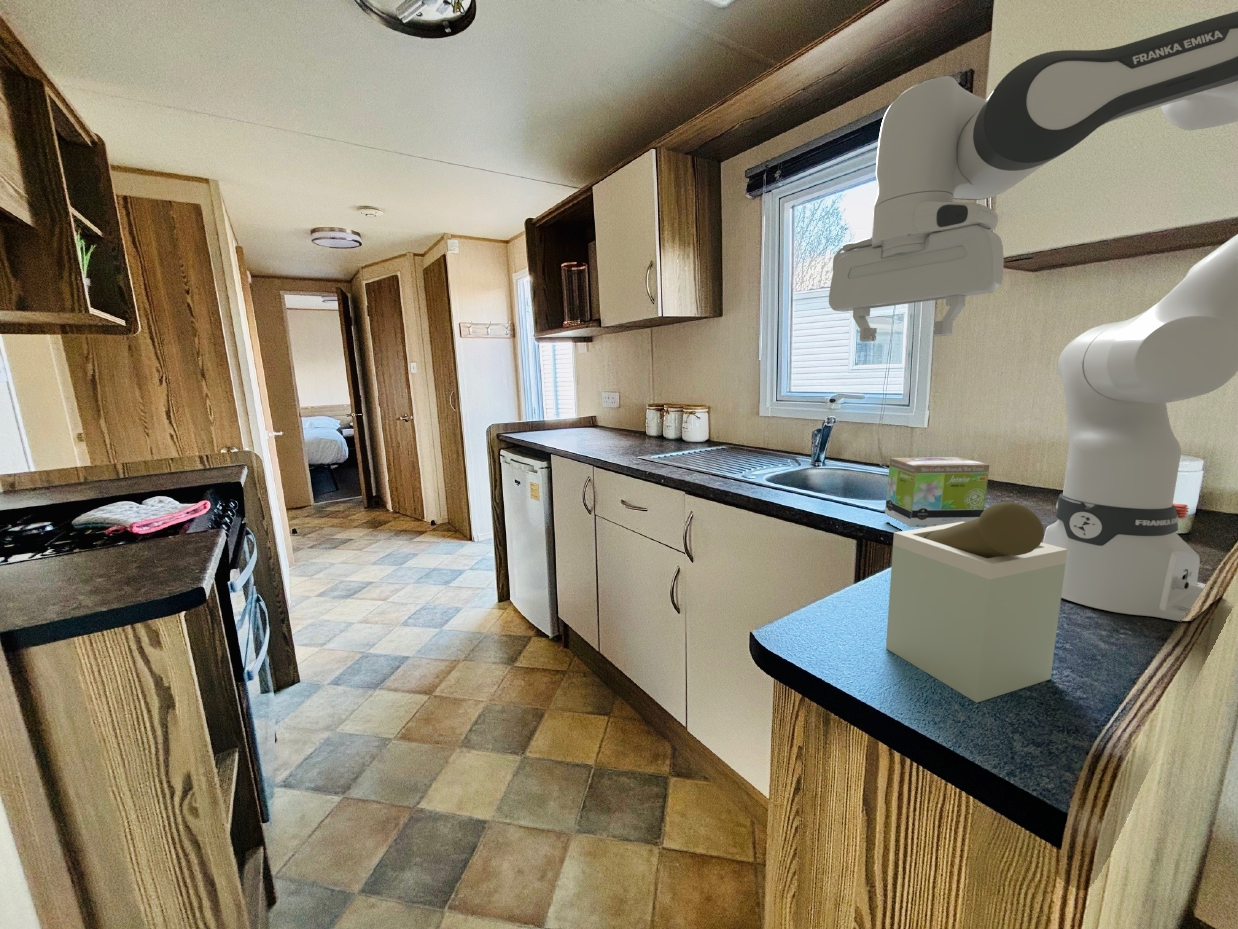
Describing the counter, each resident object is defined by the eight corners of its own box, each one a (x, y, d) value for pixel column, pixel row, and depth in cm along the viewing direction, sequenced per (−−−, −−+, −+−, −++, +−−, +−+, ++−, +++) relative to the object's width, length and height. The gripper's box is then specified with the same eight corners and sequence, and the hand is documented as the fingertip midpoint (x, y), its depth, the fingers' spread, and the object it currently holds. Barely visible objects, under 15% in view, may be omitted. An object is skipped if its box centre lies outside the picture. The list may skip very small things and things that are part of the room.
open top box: (952, 631, 64) (963, 521, 61) (1050, 679, 53) (1067, 549, 51) (885, 648, 60) (893, 532, 58) (976, 702, 50) (990, 564, 47)
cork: (977, 550, 57) (1061, 513, 48) (966, 594, 55) (1052, 565, 45) (927, 522, 59) (999, 481, 49) (914, 564, 56) (986, 529, 46)
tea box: (910, 536, 101) (915, 464, 98) (883, 522, 111) (887, 456, 108) (983, 534, 101) (991, 462, 99) (950, 520, 111) (956, 454, 109)
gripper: (822, 243, 71) (818, 343, 73) (995, 200, 54) (983, 330, 57) (845, 249, 74) (841, 344, 77) (1014, 210, 58) (1002, 332, 60)
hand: (903, 338), depth 67 cm, fingers open, 8 cm apart
